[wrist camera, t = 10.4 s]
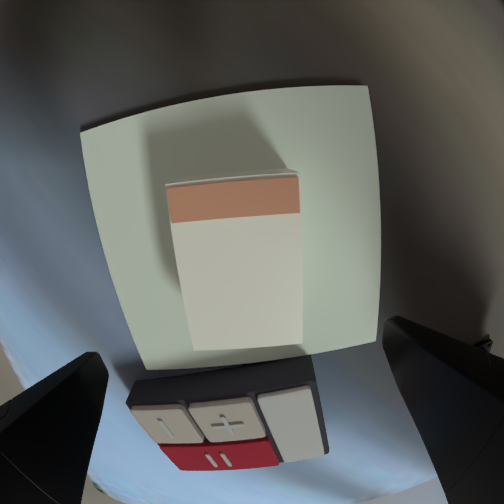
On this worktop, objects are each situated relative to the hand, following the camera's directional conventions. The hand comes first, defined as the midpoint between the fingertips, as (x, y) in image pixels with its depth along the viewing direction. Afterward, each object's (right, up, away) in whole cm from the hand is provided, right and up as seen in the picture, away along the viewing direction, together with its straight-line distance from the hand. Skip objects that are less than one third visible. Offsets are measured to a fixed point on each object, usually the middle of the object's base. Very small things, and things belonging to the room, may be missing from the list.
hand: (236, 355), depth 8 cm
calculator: (-1, -11, +16) cm, 19 cm away
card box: (0, +3, +10) cm, 10 cm away
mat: (0, +4, +10) cm, 11 cm away
